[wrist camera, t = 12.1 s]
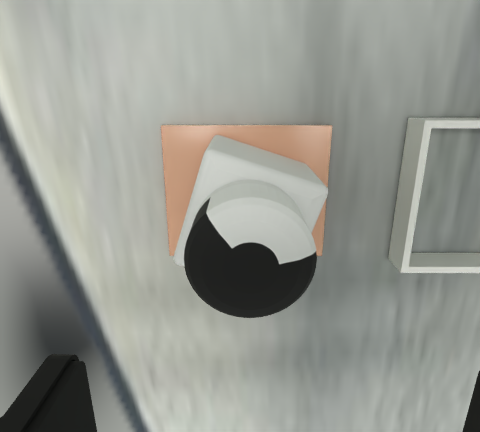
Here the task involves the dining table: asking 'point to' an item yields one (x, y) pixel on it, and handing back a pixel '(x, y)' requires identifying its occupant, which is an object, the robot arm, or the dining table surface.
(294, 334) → the dining table surface
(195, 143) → the coaster
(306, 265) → the medicine bottle
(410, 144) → the parts bin
